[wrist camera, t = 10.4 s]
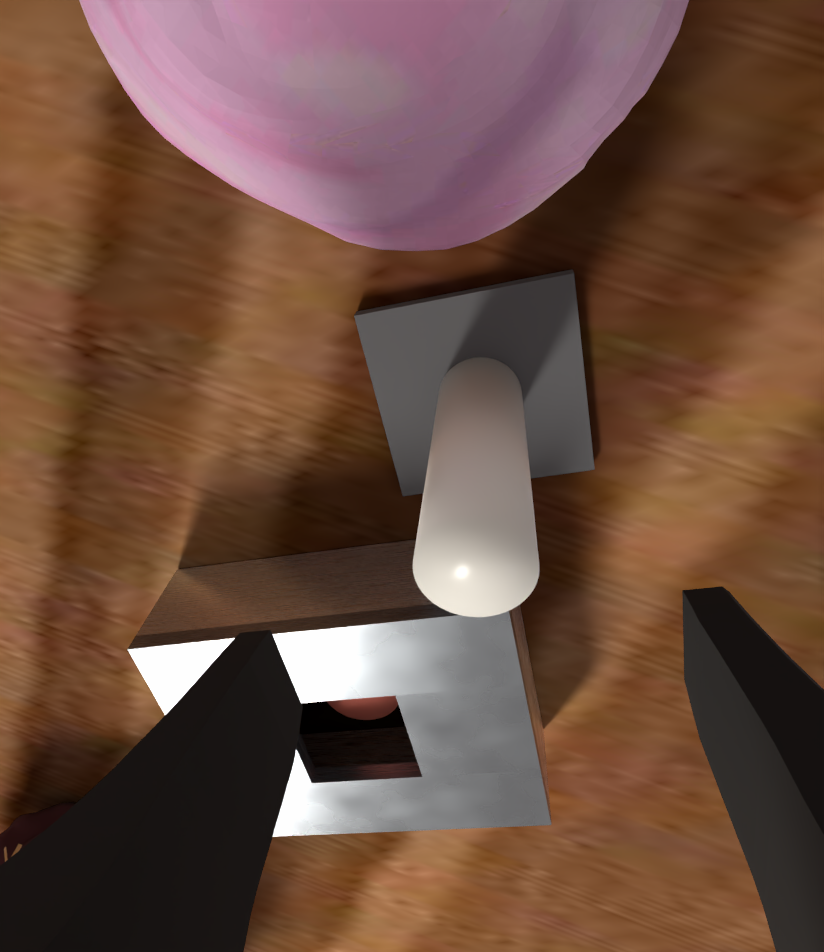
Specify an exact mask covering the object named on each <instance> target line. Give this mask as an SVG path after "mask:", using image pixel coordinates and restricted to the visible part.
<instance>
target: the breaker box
mask: <svg viewBox="0 0 824 952" xmlns="http://www.w3.org/2000/svg"><path fill="white" fill-rule="evenodd" d="M415 544H416V539H415V540H407V541H399V542H392V543H384V544H376V545H368V546H360V547H352V548H344V549H336V550H328V551H320V552H312V553H305V554H297V555H289V556H281V557H273V558H265V559H257V560H249V561H241V562H233V563H225V564H217V565H210V566H202V567H194V568H186V569H178V570H177V571H176V572H175V574H174V575H173V577H172V579H171V580H170V582H169V583H168V585H167V587H166V588H165V590H164V591H163V593H162V595H161V596H160V598H159V599H158V601H157V603H156V604H155V606H154V608H153V609H152V611H151V612H150V614H149V616H148V617H147V619H146V620H145V622H144V624H143V625H142V627H141V628H140V630H139V632H138V633H137V635H136V636H135V638H134V640H133V641H132V643H131V645H130V646H129V648H128V649H127V650H128V651H129V653H130V655H131V656H132V658H133V660H134V662H135V663H136V665H137V667H138V669H139V670H140V672H141V674H142V675H143V677H144V679H145V681H146V682H147V684H148V686H149V688H150V689H151V691H152V693H153V695H154V696H155V698H156V700H157V701H158V703H159V705H160V707H161V708H162V710H163V712H164V714H165V715H166V714H167V713H168V712H169V711H170V710H171V708H172V707H173V706H174V705H175V704H176V703H177V702H178V701H179V700H180V698H181V697H182V696H183V695H184V694H185V693H186V692H187V691H188V690H189V689H190V687H191V686H192V685H193V684H194V683H195V682H196V681H197V680H198V678H199V677H200V676H201V675H202V674H203V673H204V672H205V671H206V669H207V668H208V667H209V666H210V665H211V664H212V663H213V662H214V660H215V659H216V658H217V657H218V656H219V655H220V654H221V653H222V651H223V650H224V649H225V648H226V647H227V646H228V645H229V644H230V643H231V642H232V641H233V640H234V639H235V637H236V636H237V635H238V634H239V633H242V632H253V631H263V630H271V632H272V634H273V637H274V639H275V641H276V644H277V646H278V649H279V651H280V653H281V656H282V658H283V661H284V663H285V665H286V668H287V670H288V673H289V675H290V677H291V680H292V682H293V685H294V687H295V689H296V692H297V694H298V697H299V699H300V702H301V703H310V702H323V701H335V700H347V699H359V698H372V697H384V696H396V699H397V702H398V705H399V708H400V711H401V714H402V717H403V720H404V723H405V726H406V727H395V728H381V729H367V730H353V731H339V732H325V733H312V734H300V732H299V736H298V742H297V748H296V754H295V759H294V764H293V767H292V771H291V775H290V778H289V782H288V785H287V789H286V792H285V796H284V799H283V803H282V806H281V809H280V813H279V816H278V819H277V823H276V826H275V830H274V833H273V836H272V837H274V836H298V835H322V834H346V833H370V832H394V831H417V830H441V829H465V828H489V827H513V826H537V825H551V814H550V802H549V790H548V778H547V766H546V754H545V743H544V731H543V725H542V720H541V715H540V709H539V704H538V699H537V693H536V688H535V682H534V677H533V672H532V666H531V661H530V656H529V650H528V645H527V640H526V634H525V629H524V624H523V618H522V613H521V608H520V605H518V606H517V607H515V608H513V609H511V610H509V611H507V612H504V613H501V614H498V615H494V616H488V617H467V616H462V615H458V614H454V613H451V612H449V611H446V610H444V609H442V608H440V607H438V606H437V605H435V604H434V603H432V602H431V601H430V600H429V599H428V598H427V597H426V596H425V595H424V594H423V593H422V591H421V590H420V588H419V587H418V585H417V583H416V581H415V578H414V574H413V557H414V551H415Z"/></svg>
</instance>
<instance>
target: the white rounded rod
mask: <svg viewBox="0 0 824 952" xmlns="http://www.w3.org/2000/svg"><path fill="white" fill-rule="evenodd" d="M413 574H414V578H415V581H416V583H417V585H418V587H419V588H420V590H421V591H422V593H423V594H424V595H425V596H426V597H427V598H428V599H429V600H430V601H431V602H432V603H434V604H435V605H437V606H438V607H440V608H442V609H444V610H446V611H449V612H451V613H454V614H458V615H462V616H467V617H488V616H494V615H498V614H501V613H504V612H507V611H509V610H511V609H513V608H515V607H517V606H518V605H520V604H521V603H522V602H523V601H525V600H526V599H527V597H528V596H529V595H530V594H531V593H532V591H533V590H534V588H535V586H536V584H537V581H538V578H539V556H538V547H537V537H536V527H535V517H534V507H533V497H532V487H531V477H530V467H529V458H528V448H527V438H526V428H525V418H524V408H523V398H522V390H521V385H520V382H519V380H518V378H517V376H516V375H515V373H514V372H513V371H512V370H511V369H510V368H509V367H508V366H507V365H505V364H503V363H502V362H500V361H498V360H495V359H491V358H486V357H476V358H470V359H467V360H464V361H462V362H460V363H458V364H456V365H455V366H454V367H452V368H451V369H450V370H449V371H448V372H447V374H446V375H445V376H444V378H443V380H442V382H441V385H440V389H439V395H438V402H437V408H436V415H435V421H434V428H433V434H432V441H431V447H430V454H429V460H428V467H427V473H426V479H425V486H424V492H423V499H422V505H421V512H420V518H419V525H418V531H417V538H416V544H415V551H414V557H413Z"/></svg>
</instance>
